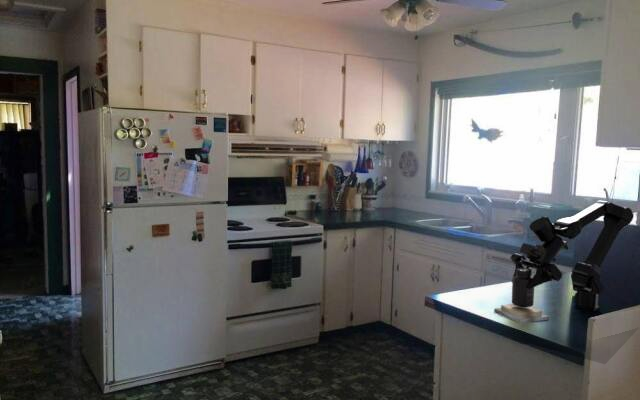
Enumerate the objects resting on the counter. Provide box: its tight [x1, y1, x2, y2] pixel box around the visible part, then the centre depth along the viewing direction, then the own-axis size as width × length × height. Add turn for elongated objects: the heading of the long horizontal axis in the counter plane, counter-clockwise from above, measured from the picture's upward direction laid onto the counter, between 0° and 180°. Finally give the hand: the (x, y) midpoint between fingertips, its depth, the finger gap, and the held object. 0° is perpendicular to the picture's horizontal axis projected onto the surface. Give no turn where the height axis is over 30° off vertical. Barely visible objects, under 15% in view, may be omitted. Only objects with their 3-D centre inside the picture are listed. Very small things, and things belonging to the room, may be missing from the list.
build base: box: [493, 303, 550, 324], centre depth 172 cm, size 12×12×2 cm
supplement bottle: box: [511, 268, 535, 307], centre depth 171 cm, size 7×7×12 cm
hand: (519, 285), depth 171 cm, fingers closed on supplement bottle, 7 cm apart
